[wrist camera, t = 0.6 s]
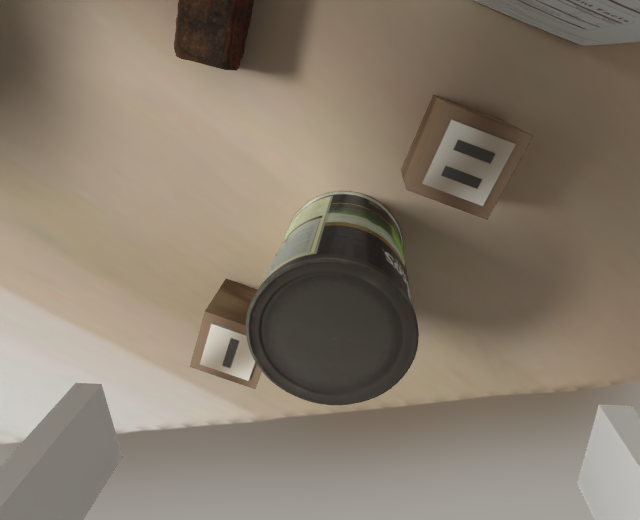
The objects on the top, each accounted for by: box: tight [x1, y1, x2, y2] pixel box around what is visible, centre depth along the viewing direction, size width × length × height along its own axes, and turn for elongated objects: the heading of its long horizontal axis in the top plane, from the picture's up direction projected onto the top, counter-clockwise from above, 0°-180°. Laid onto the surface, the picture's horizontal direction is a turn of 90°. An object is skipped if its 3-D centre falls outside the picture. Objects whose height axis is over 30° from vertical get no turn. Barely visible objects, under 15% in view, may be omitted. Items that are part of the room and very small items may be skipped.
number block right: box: [401, 95, 533, 219], centre depth 32 cm, size 6×6×6 cm
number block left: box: [190, 279, 262, 389], centre depth 41 cm, size 6×6×6 cm
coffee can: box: [246, 191, 419, 405], centre depth 33 cm, size 10×10×14 cm
